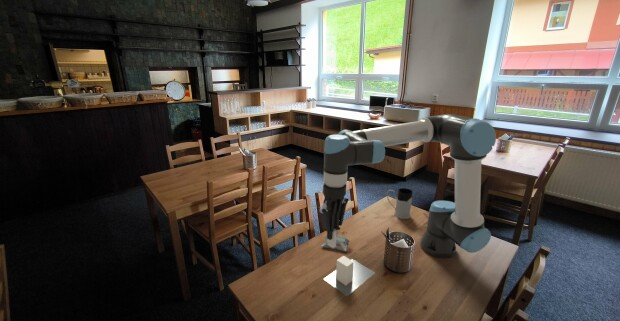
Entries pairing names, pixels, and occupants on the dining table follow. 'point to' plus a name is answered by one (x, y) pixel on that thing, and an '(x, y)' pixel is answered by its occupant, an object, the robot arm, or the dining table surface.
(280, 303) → the dining table surface
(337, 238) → the packaged food
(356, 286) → the board
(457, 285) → the dining table surface
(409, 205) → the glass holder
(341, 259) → the block
